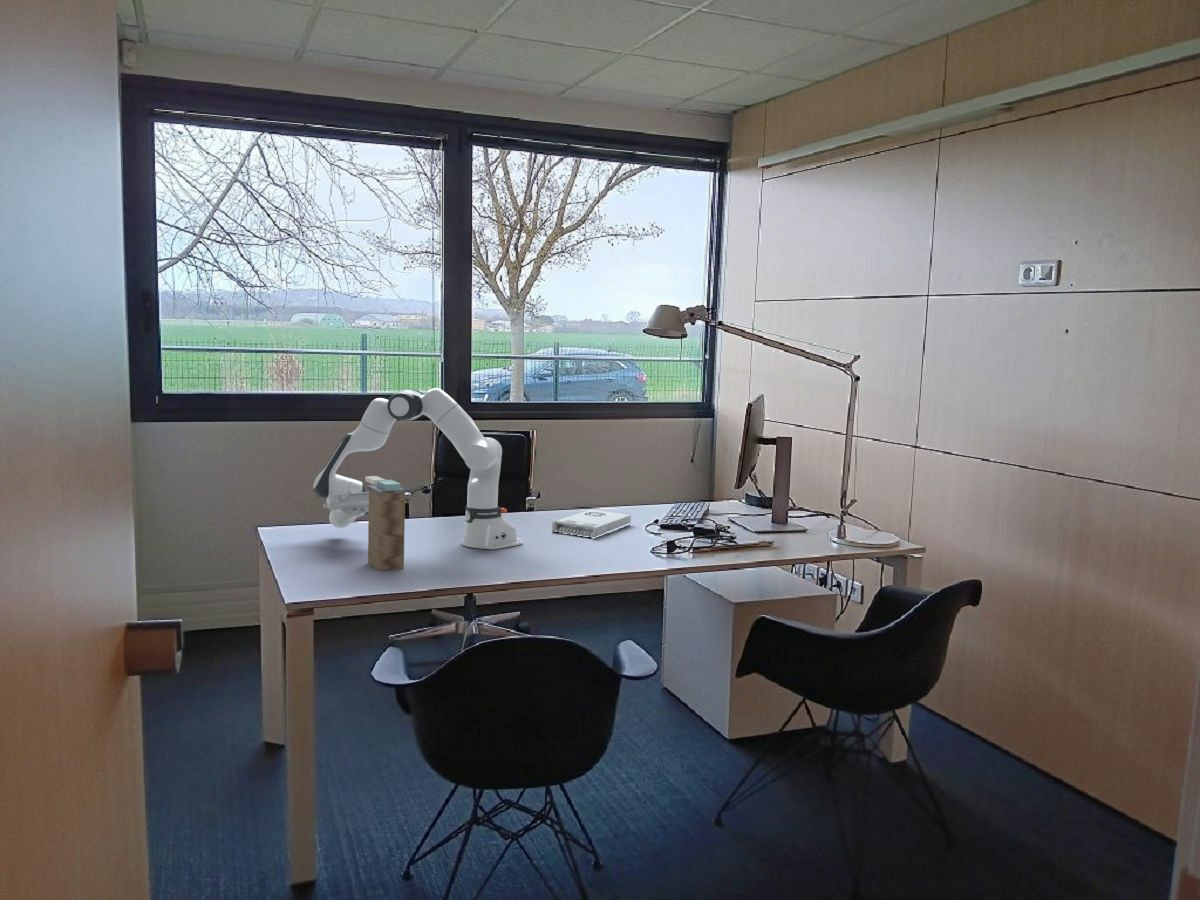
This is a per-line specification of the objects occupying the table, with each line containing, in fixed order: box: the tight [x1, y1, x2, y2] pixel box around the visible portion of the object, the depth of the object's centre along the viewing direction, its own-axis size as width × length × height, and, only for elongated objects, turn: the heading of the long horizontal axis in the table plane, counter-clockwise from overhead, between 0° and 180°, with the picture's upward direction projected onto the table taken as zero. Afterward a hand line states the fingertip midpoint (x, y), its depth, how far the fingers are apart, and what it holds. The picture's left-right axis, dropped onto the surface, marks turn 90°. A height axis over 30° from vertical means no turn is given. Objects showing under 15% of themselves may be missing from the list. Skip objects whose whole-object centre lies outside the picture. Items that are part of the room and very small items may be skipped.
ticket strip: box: [365, 475, 402, 491], centre depth 289 cm, size 5×20×2 cm, turn 34°
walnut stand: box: [366, 484, 408, 572], centre depth 287 cm, size 9×11×26 cm
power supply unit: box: [551, 509, 632, 537], centre depth 359 cm, size 19×33×5 cm, turn 152°
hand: (362, 492), depth 305 cm, fingers open, 8 cm apart
